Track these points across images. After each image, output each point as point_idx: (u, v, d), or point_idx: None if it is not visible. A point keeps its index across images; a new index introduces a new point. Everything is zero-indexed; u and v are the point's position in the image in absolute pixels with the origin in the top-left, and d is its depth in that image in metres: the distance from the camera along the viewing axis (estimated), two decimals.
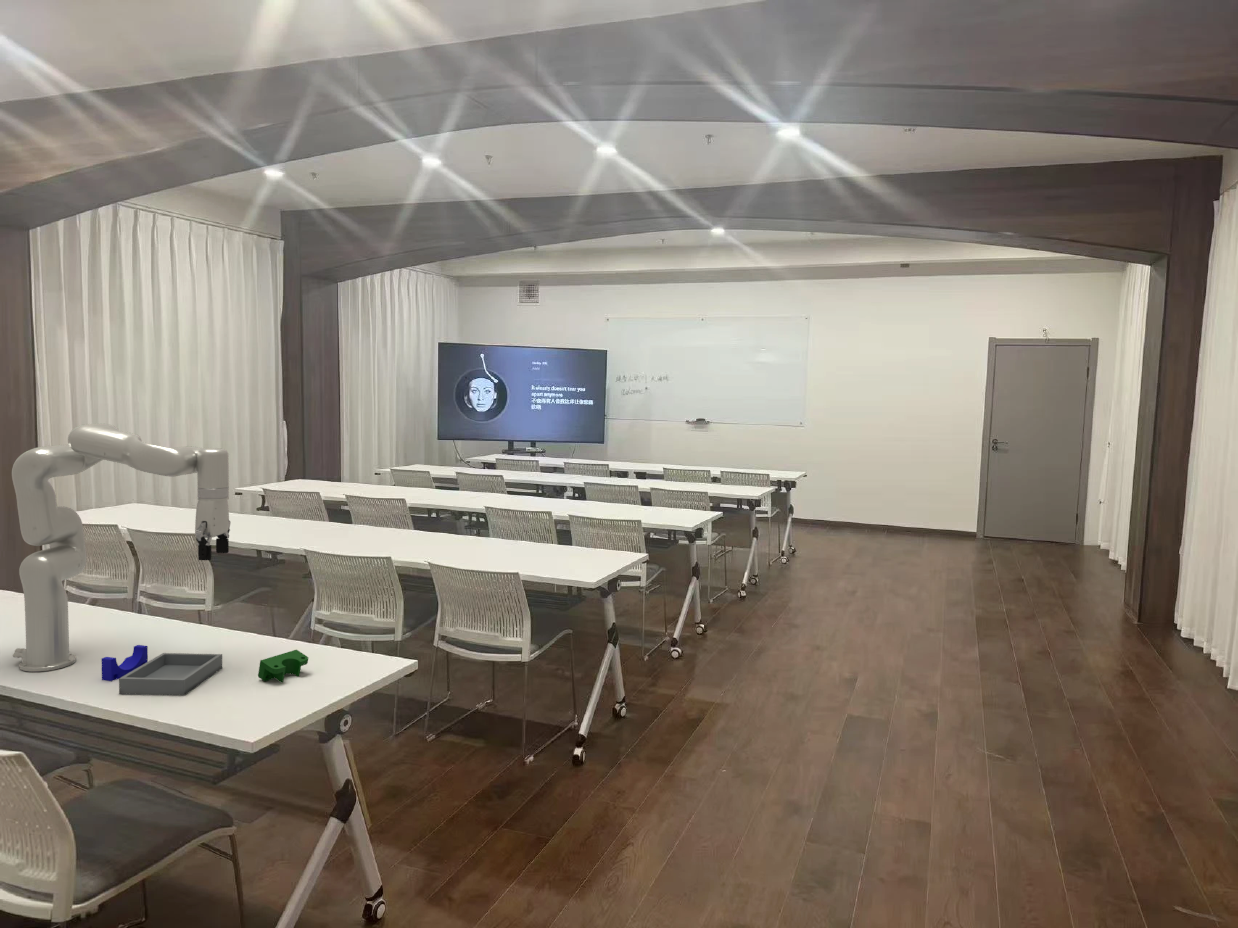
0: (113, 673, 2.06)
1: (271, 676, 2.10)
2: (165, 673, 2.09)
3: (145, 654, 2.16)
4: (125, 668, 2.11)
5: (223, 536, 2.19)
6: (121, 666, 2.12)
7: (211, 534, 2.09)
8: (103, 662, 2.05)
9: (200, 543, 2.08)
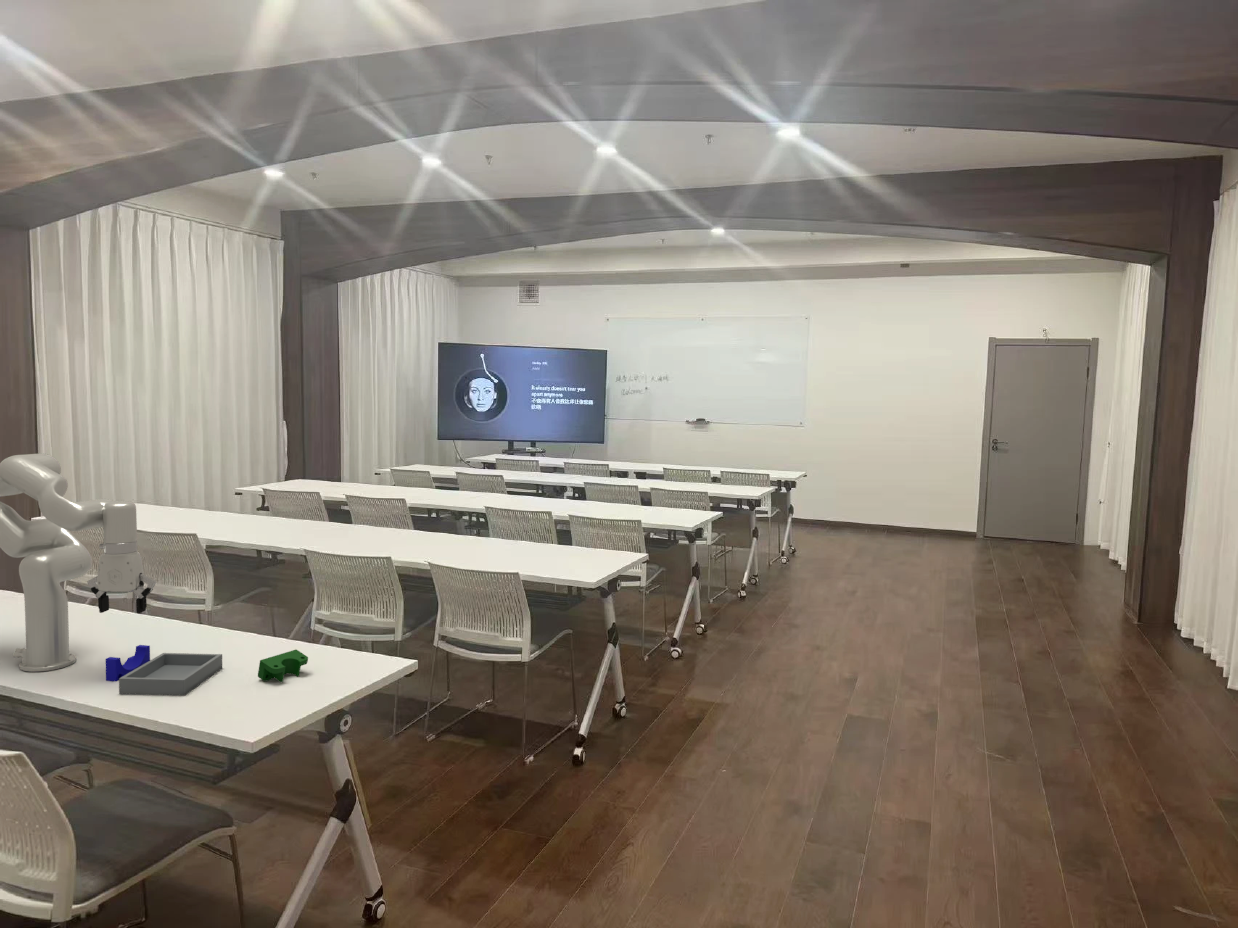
0: (117, 673, 2.06)
1: (271, 676, 2.10)
2: (165, 673, 2.09)
3: (147, 654, 2.16)
4: (128, 668, 2.11)
5: (104, 593, 2.10)
6: (124, 666, 2.12)
7: None
8: (107, 662, 2.05)
9: (146, 594, 2.10)
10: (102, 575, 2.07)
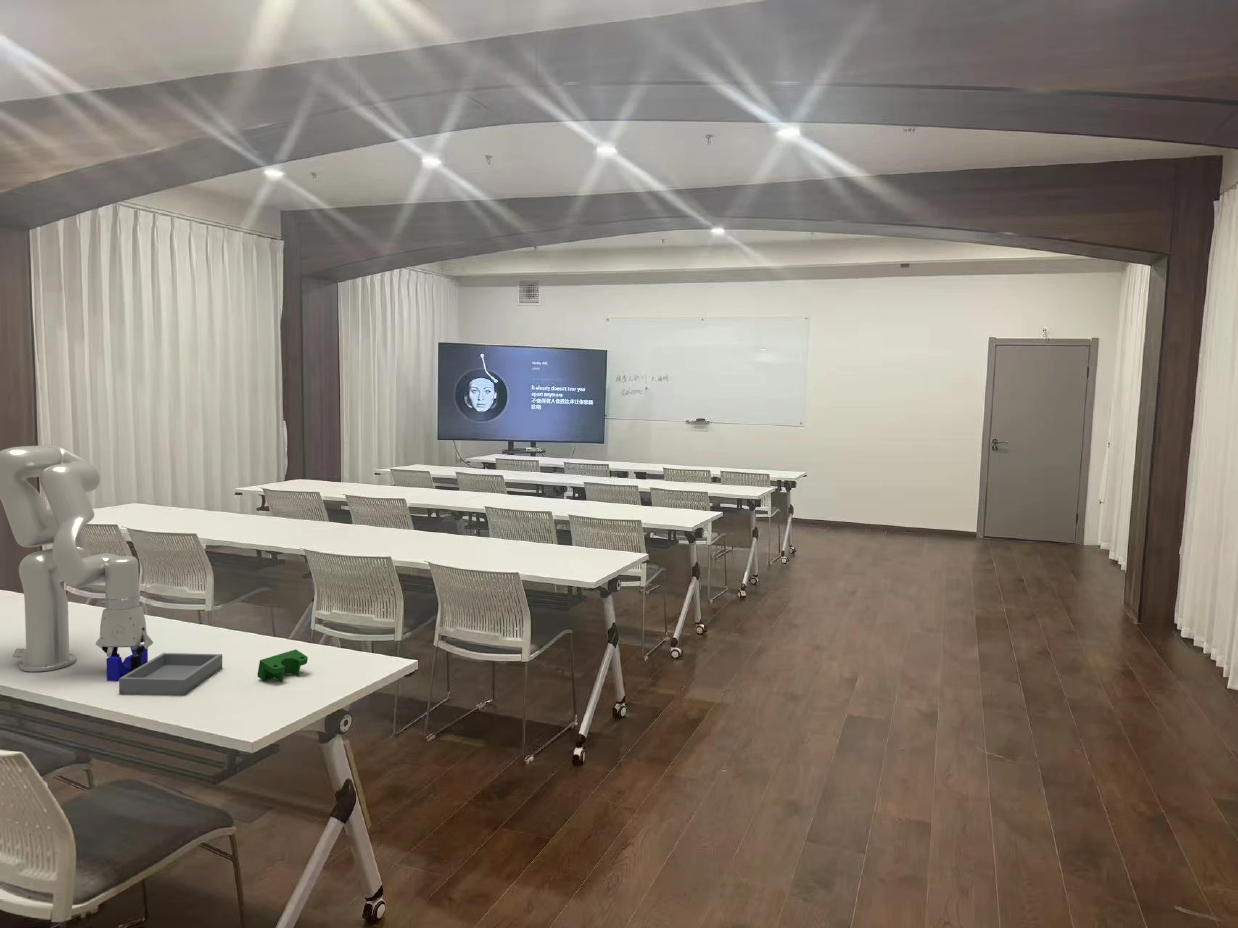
0: (119, 672, 2.06)
1: (270, 676, 2.10)
2: (165, 673, 2.09)
3: (145, 653, 2.16)
4: (128, 667, 2.11)
5: (115, 652, 2.11)
6: None
7: None
8: (108, 662, 2.05)
9: (141, 652, 2.11)
10: (104, 630, 2.08)
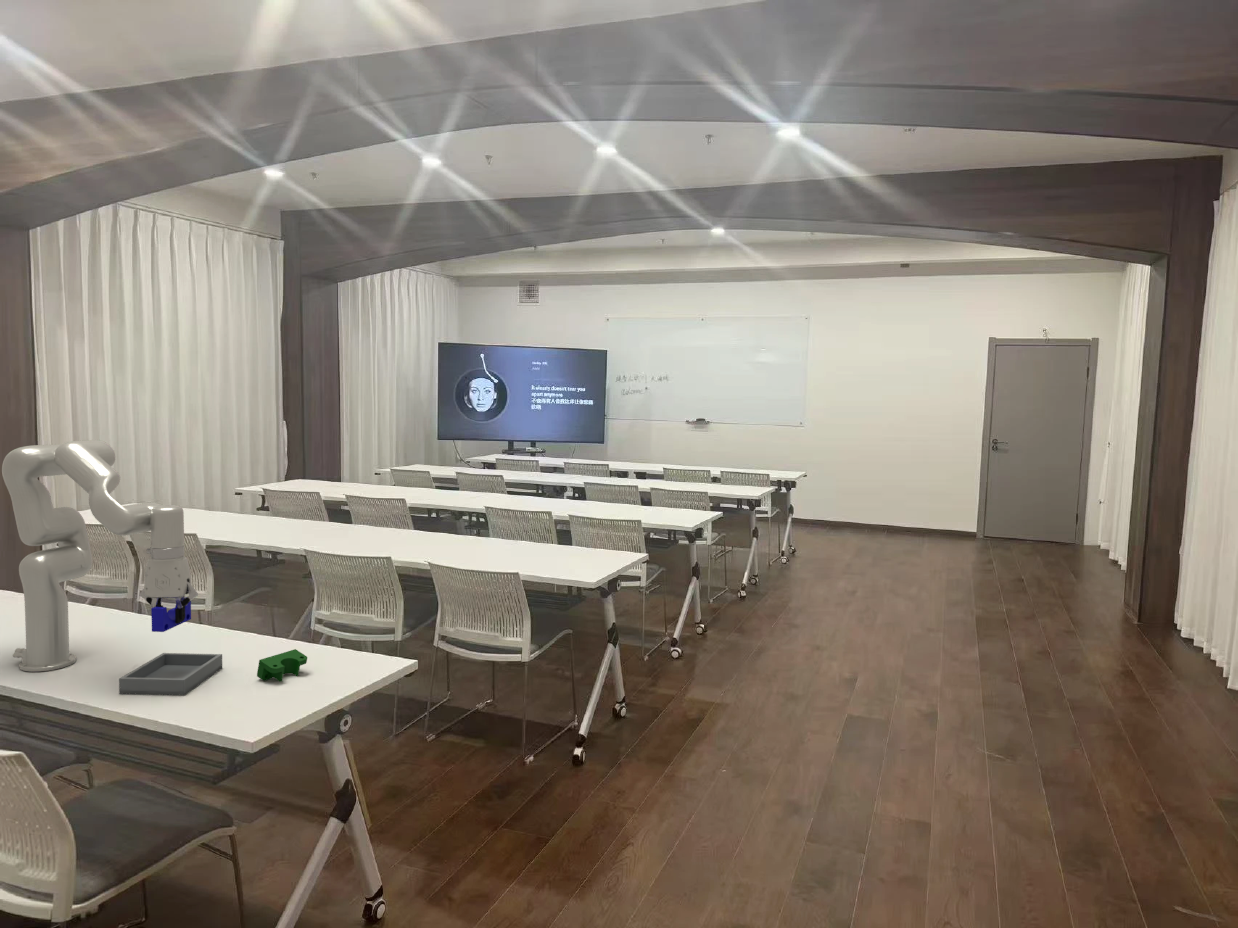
0: (164, 623, 2.01)
1: (270, 676, 2.10)
2: (165, 673, 2.09)
3: (188, 606, 2.11)
4: (172, 619, 2.06)
5: (159, 604, 2.06)
6: None
7: None
8: (153, 612, 2.00)
9: (185, 604, 2.06)
10: (149, 581, 2.02)
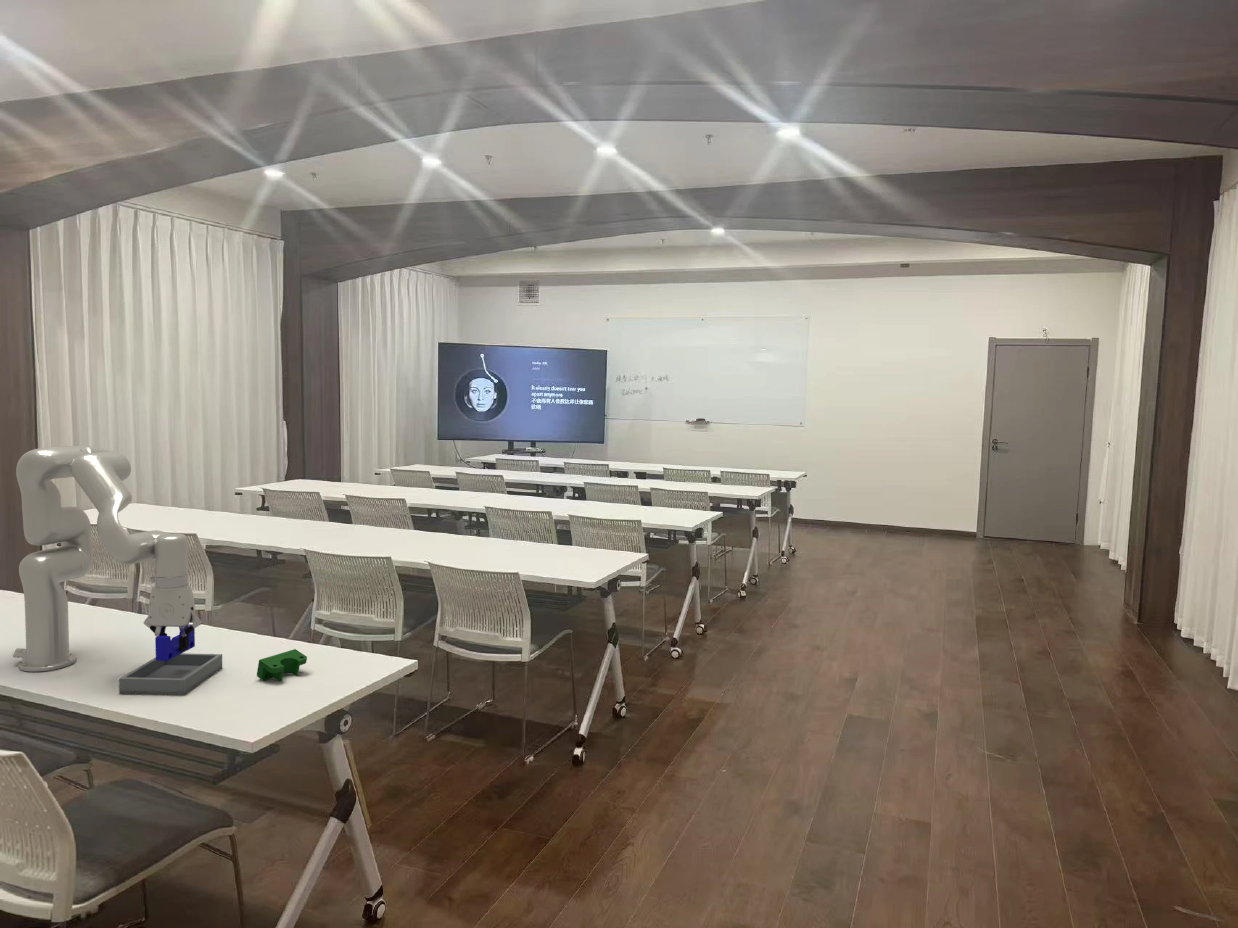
0: (168, 652, 2.01)
1: (270, 675, 2.10)
2: (165, 673, 2.09)
3: (192, 633, 2.11)
4: (176, 647, 2.06)
5: (163, 632, 2.06)
6: None
7: None
8: (157, 641, 2.00)
9: (189, 632, 2.06)
10: (153, 609, 2.03)
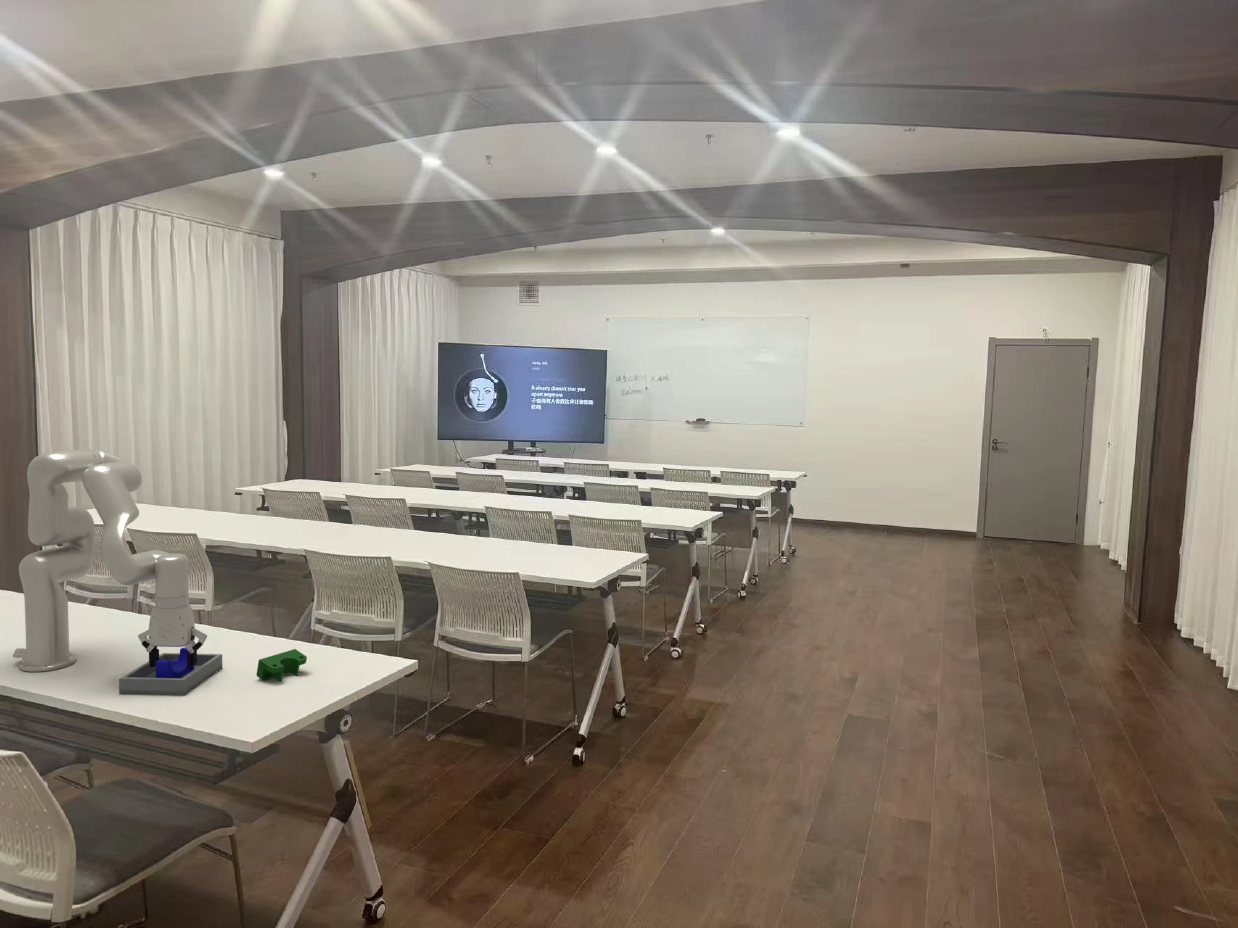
0: (168, 676, 2.01)
1: (269, 675, 2.11)
2: None
3: None
4: (175, 671, 2.07)
5: (155, 647, 2.07)
6: None
7: None
8: (157, 665, 2.01)
9: (197, 649, 2.06)
10: (153, 629, 2.03)
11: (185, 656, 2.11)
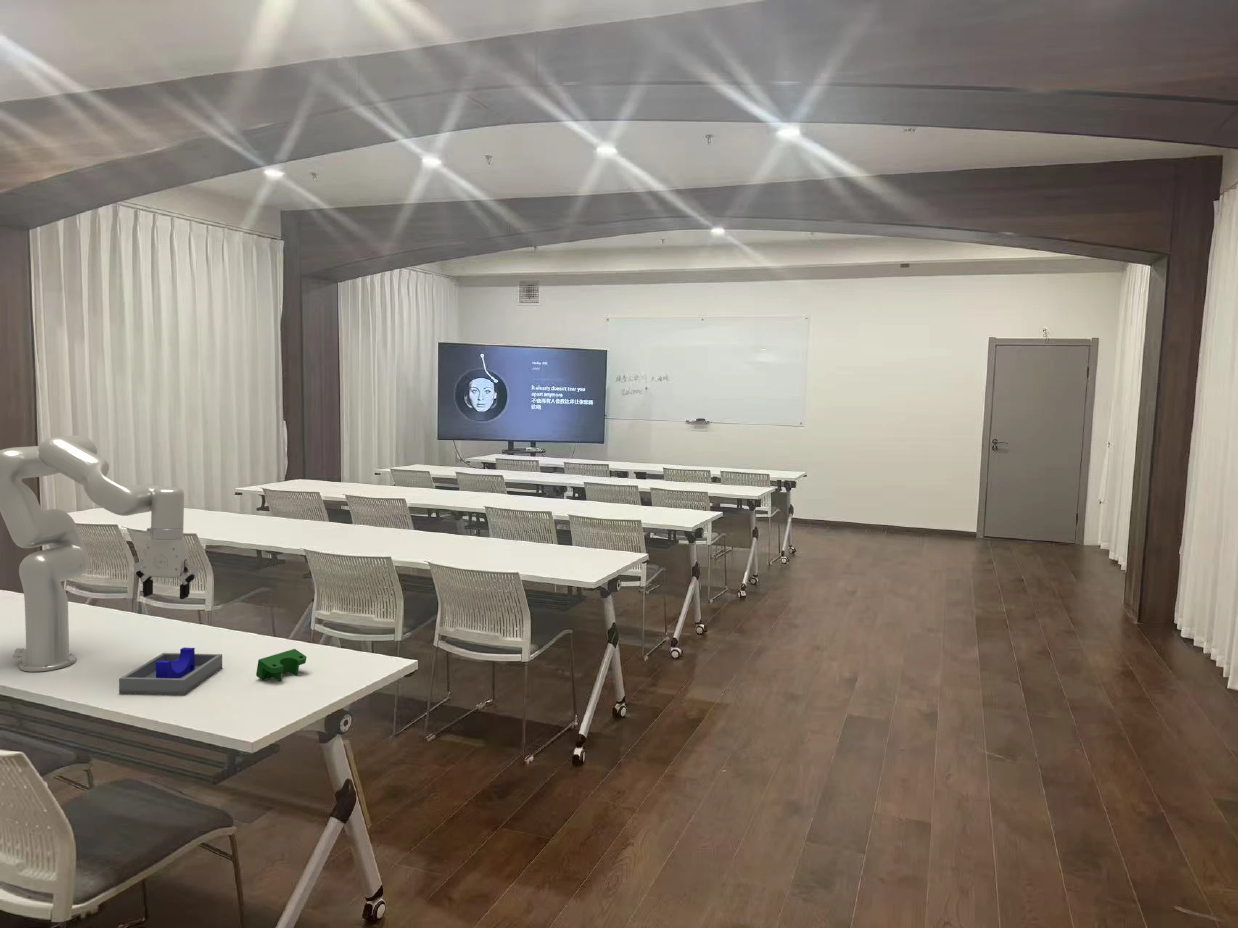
0: (168, 676, 2.01)
1: (269, 675, 2.11)
2: None
3: (192, 657, 2.12)
4: (176, 671, 2.07)
5: (149, 578, 2.11)
6: None
7: None
8: (158, 665, 2.01)
9: (190, 581, 2.11)
10: (148, 560, 2.08)
11: (185, 656, 2.11)
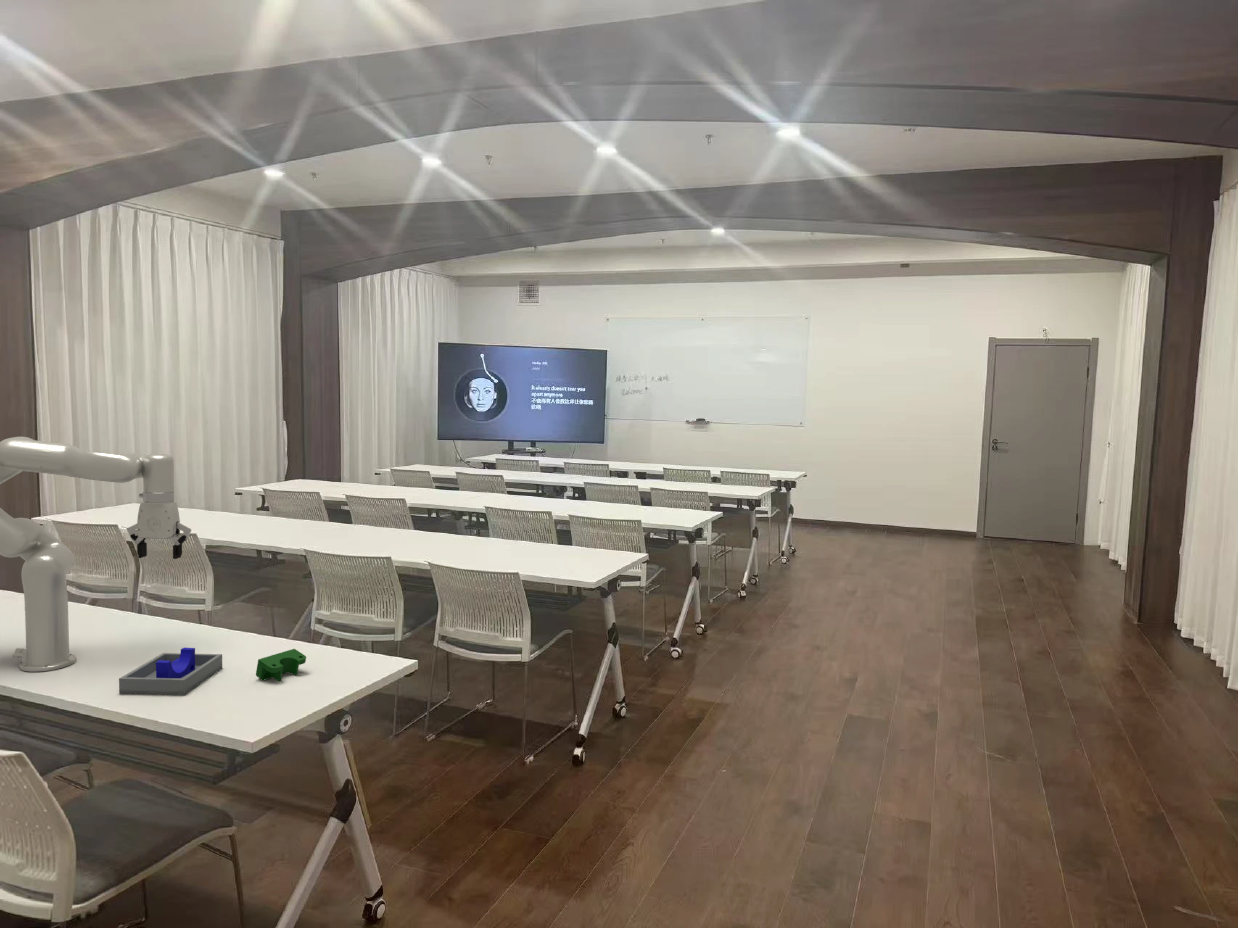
0: (169, 676, 2.01)
1: (269, 675, 2.11)
2: None
3: (193, 657, 2.12)
4: (176, 671, 2.07)
5: (143, 540, 2.24)
6: None
7: None
8: (158, 666, 2.01)
9: (182, 541, 2.24)
10: (141, 522, 2.21)
11: (186, 656, 2.11)
